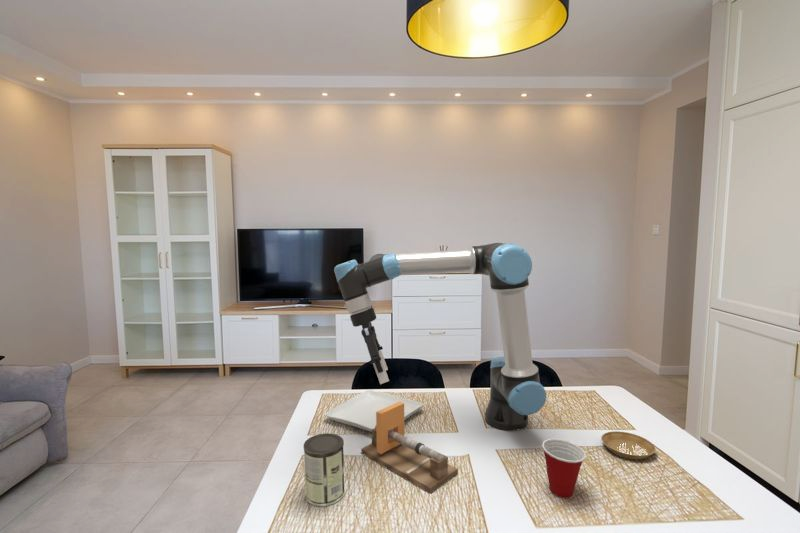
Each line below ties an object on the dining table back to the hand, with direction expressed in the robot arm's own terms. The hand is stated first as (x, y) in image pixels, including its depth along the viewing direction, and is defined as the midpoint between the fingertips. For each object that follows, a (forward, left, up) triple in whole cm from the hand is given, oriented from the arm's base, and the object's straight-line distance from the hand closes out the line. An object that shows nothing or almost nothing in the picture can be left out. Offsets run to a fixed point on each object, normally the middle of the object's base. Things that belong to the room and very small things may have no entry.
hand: (384, 376), depth 126 cm
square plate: (0, -25, -25) cm, 36 cm away
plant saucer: (-75, +12, -25) cm, 80 cm away
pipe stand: (-6, +7, -24) cm, 26 cm away
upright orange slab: (-2, +1, -22) cm, 22 cm away
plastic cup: (-44, +27, -25) cm, 57 cm away
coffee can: (+18, +17, -25) cm, 35 cm away
